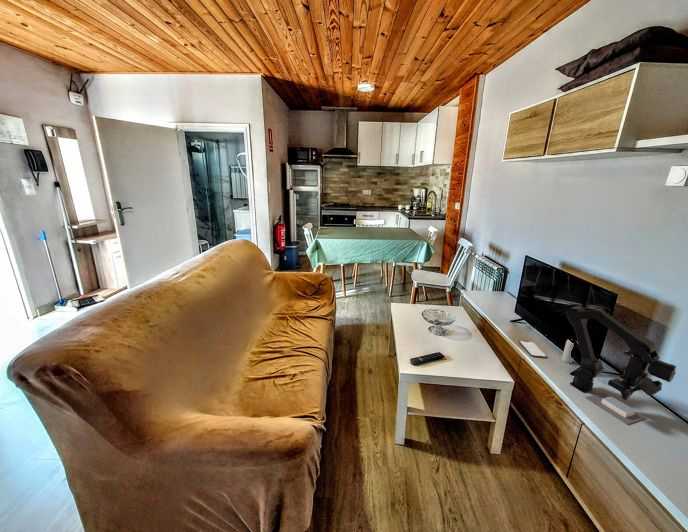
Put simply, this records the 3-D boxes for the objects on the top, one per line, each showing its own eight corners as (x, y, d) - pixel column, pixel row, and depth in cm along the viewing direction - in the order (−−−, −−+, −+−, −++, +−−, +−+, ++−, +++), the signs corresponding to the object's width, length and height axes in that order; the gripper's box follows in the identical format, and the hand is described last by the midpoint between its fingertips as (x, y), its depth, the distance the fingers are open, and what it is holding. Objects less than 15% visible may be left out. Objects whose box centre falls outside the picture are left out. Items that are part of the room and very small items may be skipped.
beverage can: (559, 359, 164) (565, 340, 161) (564, 357, 166) (569, 338, 163) (569, 364, 160) (575, 344, 157) (573, 362, 163) (579, 342, 159)
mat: (585, 398, 134) (585, 397, 134) (603, 393, 138) (603, 392, 138) (627, 424, 120) (627, 423, 120) (645, 418, 124) (646, 417, 124)
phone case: (547, 359, 165) (532, 344, 180) (548, 356, 165) (533, 341, 180) (530, 358, 166) (517, 342, 181) (531, 355, 165) (518, 340, 181)
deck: (610, 400, 133) (601, 402, 131) (611, 396, 133) (602, 398, 131) (634, 414, 125) (625, 417, 123) (635, 410, 124) (626, 413, 122)
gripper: (645, 384, 113) (633, 417, 118) (675, 376, 119) (661, 408, 124) (612, 367, 123) (601, 398, 128) (641, 360, 129) (629, 390, 134)
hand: (624, 399), depth 128 cm, fingers closed
